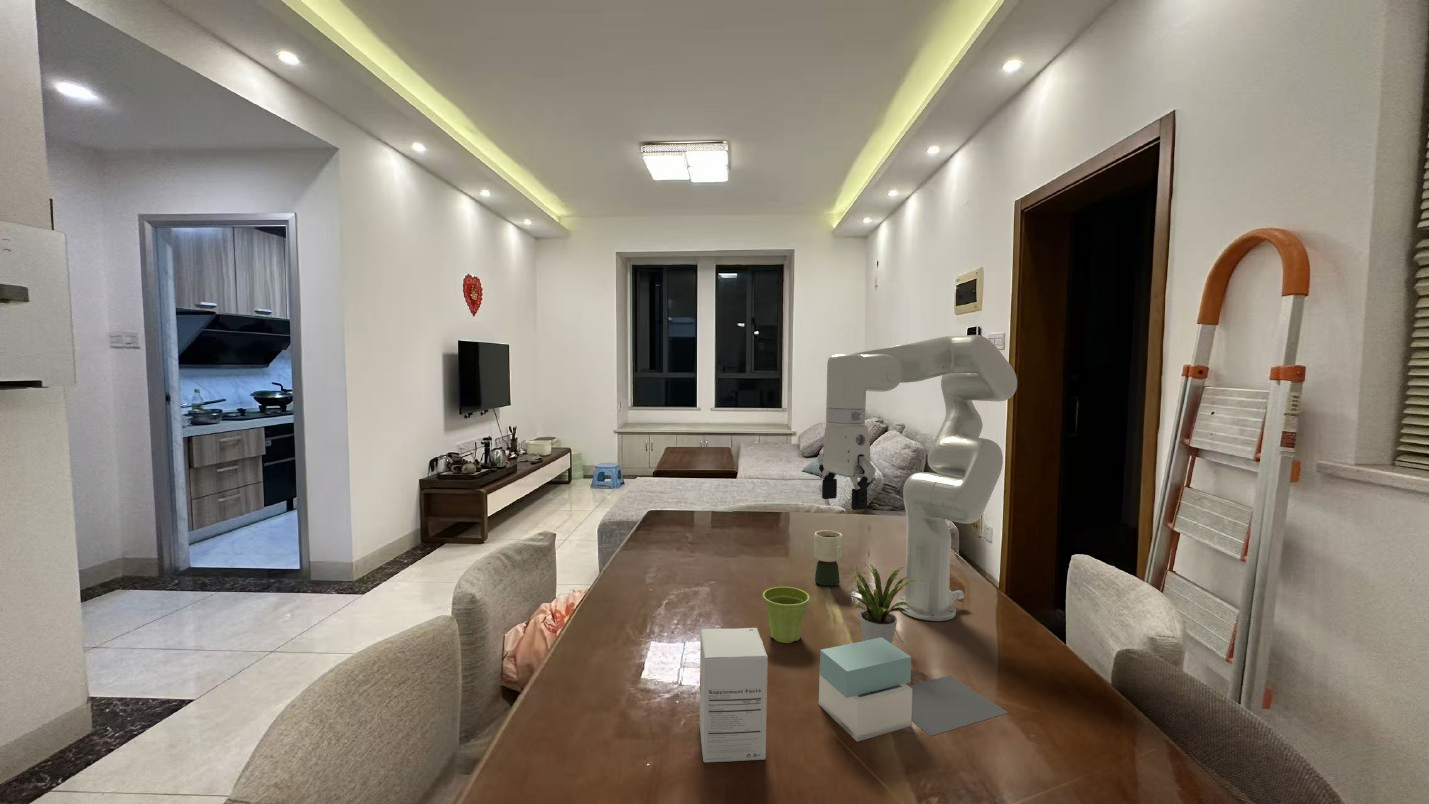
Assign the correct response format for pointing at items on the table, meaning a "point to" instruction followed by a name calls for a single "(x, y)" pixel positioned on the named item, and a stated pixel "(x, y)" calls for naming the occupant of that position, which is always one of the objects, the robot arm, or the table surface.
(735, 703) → the supplement box
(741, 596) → the table surface
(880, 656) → the teal rectangular block
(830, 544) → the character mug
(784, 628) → the plant pot
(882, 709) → the white open-top box
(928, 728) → the mat
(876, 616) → the house plant
